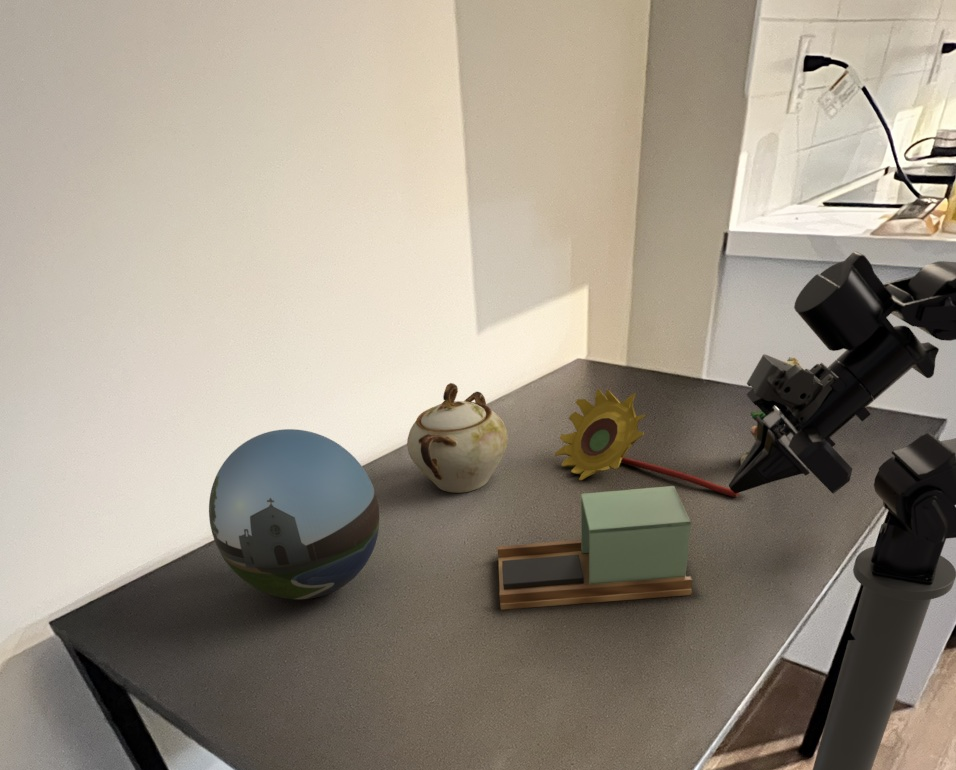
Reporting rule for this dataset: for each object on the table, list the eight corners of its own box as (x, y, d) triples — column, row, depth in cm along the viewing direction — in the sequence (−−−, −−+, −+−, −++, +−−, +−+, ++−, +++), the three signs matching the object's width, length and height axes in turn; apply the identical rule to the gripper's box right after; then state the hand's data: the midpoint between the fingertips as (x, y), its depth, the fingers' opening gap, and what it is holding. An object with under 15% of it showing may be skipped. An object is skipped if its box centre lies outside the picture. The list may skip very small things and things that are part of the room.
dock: (670, 545, 94) (672, 531, 93) (691, 595, 85) (692, 580, 84) (498, 559, 96) (497, 545, 94) (500, 609, 87) (499, 595, 86)
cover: (669, 544, 93) (674, 485, 88) (685, 582, 86) (690, 521, 81) (581, 551, 94) (580, 493, 89) (589, 590, 87) (589, 530, 82)
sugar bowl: (478, 516, 105) (467, 411, 96) (388, 504, 111) (369, 403, 102) (530, 459, 119) (525, 362, 109) (447, 451, 124) (436, 358, 115)
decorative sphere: (353, 640, 85) (312, 476, 72) (208, 624, 90) (146, 469, 78) (414, 553, 99) (388, 403, 86) (285, 543, 104) (243, 401, 92)
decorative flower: (702, 523, 98) (535, 465, 116) (730, 523, 104) (568, 467, 122) (737, 419, 93) (557, 374, 111) (765, 425, 99) (590, 381, 117)
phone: (578, 559, 92) (578, 554, 92) (583, 583, 88) (583, 577, 87) (502, 565, 93) (502, 560, 92) (503, 589, 89) (503, 584, 88)
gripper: (778, 302, 80) (667, 414, 87) (844, 355, 65) (705, 482, 73) (837, 371, 84) (727, 471, 92) (912, 434, 70) (773, 546, 77)
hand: (731, 489), depth 83 cm, fingers closed
